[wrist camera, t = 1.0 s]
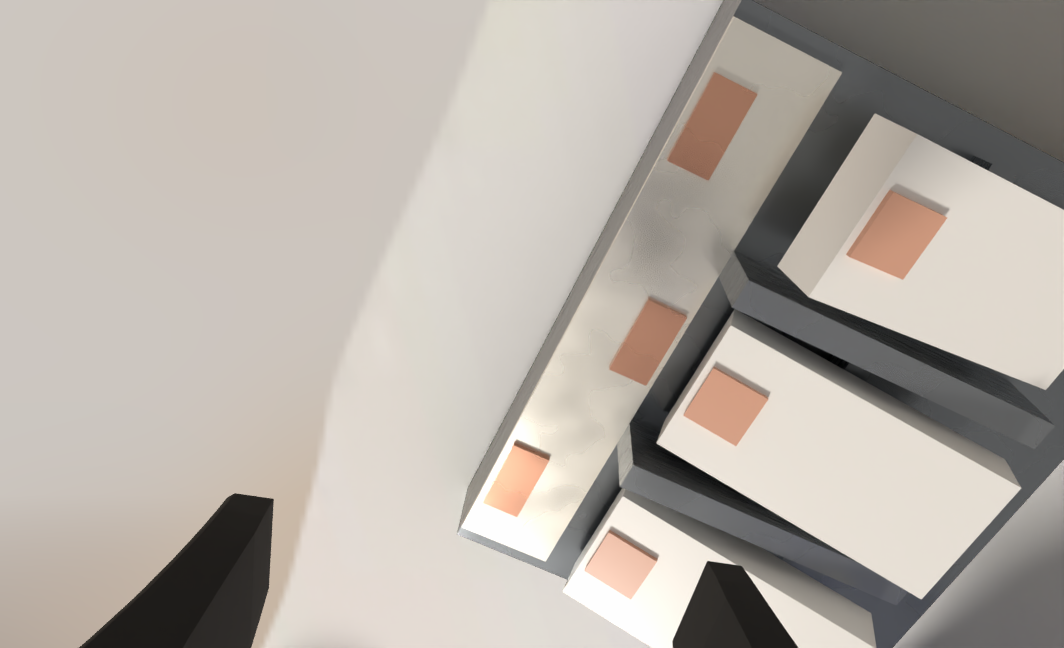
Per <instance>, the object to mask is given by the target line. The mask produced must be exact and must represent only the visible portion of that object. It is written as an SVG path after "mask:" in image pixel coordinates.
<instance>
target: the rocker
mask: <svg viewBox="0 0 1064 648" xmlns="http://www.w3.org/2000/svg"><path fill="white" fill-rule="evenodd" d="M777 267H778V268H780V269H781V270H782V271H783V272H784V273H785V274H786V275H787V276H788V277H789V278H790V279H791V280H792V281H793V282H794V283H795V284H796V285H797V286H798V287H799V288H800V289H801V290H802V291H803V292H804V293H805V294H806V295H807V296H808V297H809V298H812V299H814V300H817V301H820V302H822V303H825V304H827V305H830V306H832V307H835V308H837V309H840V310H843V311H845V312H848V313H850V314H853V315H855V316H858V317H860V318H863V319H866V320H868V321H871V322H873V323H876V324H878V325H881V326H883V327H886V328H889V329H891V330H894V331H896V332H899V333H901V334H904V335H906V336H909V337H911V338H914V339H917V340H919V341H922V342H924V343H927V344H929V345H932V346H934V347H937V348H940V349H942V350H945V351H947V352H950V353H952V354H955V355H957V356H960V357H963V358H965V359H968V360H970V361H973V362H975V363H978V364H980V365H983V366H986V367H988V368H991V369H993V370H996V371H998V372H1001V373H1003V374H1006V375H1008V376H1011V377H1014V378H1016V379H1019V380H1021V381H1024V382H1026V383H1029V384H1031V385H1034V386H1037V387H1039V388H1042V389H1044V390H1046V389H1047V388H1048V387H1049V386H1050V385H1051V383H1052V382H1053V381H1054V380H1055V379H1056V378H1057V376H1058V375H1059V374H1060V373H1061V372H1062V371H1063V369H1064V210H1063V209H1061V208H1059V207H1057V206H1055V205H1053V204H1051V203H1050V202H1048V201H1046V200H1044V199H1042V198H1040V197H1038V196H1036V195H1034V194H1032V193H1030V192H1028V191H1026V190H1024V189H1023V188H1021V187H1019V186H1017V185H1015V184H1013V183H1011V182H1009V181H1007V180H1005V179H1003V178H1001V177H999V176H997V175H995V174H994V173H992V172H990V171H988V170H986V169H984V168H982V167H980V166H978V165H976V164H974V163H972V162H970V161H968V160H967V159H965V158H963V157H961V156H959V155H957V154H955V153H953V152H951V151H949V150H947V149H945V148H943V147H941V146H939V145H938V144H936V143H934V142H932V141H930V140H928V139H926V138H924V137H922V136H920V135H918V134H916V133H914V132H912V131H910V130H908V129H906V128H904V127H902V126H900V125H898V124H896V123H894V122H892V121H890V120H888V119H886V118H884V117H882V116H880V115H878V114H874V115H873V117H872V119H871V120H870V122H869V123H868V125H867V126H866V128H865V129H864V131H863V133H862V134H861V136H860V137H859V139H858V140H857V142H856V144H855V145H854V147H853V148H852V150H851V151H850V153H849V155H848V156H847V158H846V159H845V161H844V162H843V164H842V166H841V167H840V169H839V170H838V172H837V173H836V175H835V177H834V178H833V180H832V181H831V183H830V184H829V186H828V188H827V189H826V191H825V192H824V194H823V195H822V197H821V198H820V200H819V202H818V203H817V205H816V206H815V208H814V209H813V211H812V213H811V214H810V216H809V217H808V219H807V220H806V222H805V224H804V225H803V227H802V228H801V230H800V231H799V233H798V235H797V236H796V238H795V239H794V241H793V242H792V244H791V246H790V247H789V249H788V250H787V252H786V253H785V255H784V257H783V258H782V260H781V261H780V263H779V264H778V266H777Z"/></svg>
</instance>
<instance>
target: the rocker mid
mask: <svg viewBox="0 0 1064 648" xmlns="http://www.w3.org/2000/svg"><path fill="white" fill-rule="evenodd" d="M656 443H657V444H658V445H660V446H662V447H663V448H665V449H667V450H668V451H670V452H672V453H673V454H675V455H677V456H679V457H680V458H682V459H684V460H685V461H687V462H689V463H690V464H692V465H694V466H696V467H697V468H699V469H701V470H702V471H704V472H706V473H707V474H709V475H711V476H713V477H714V478H716V479H718V480H719V481H721V482H723V483H724V484H726V485H728V486H729V487H731V488H733V489H735V490H736V491H738V492H740V493H741V494H743V495H745V496H746V497H748V498H750V499H752V500H753V501H755V502H757V503H758V504H760V505H762V506H763V507H765V508H767V509H769V510H770V511H772V512H774V513H775V514H777V515H779V516H780V517H782V518H784V519H785V520H787V521H789V522H791V523H792V524H794V525H796V526H797V527H799V528H801V529H802V530H804V531H806V532H808V533H809V534H811V535H813V536H814V537H816V538H818V539H819V540H821V541H823V542H825V543H826V544H828V545H830V546H831V547H833V548H835V549H836V550H838V551H840V552H841V553H843V554H845V555H847V556H848V557H850V558H852V559H853V560H855V561H857V562H858V563H860V564H862V565H864V566H865V567H867V568H869V569H870V570H872V571H874V572H875V573H877V574H879V575H881V576H882V577H884V578H886V579H887V580H889V581H891V582H892V583H894V584H896V585H897V586H899V587H901V588H903V589H904V590H906V591H908V592H909V593H911V594H913V595H914V596H916V597H918V598H920V599H922V598H923V597H924V596H925V595H926V594H927V593H928V592H929V591H930V589H931V588H932V587H933V586H934V585H935V584H936V583H937V582H938V581H939V579H940V578H941V577H942V576H943V575H944V574H945V573H946V572H947V571H948V569H949V568H950V567H951V566H952V565H953V564H954V563H955V562H956V561H957V559H958V558H959V557H960V556H961V555H962V554H963V553H964V552H965V550H966V549H967V548H968V547H969V546H970V545H971V544H972V543H973V542H974V540H975V539H976V538H977V537H978V536H979V535H980V534H981V533H982V532H983V530H984V529H985V528H986V527H987V526H988V525H989V524H990V523H991V522H992V520H993V519H994V518H995V517H996V516H997V515H998V514H999V513H1000V512H1001V510H1002V509H1003V508H1004V507H1005V506H1006V505H1007V504H1008V503H1009V501H1010V500H1011V499H1012V498H1013V497H1014V496H1015V495H1016V494H1017V493H1018V491H1019V490H1020V489H1021V486H1020V485H1019V483H1018V481H1017V479H1016V478H1015V476H1014V474H1013V472H1012V471H1011V469H1010V467H1009V465H1008V464H1007V462H1006V460H1005V459H1004V458H1002V457H1000V456H998V455H996V454H995V453H993V452H991V451H989V450H987V449H986V448H984V447H982V446H980V445H978V444H977V443H975V442H973V441H971V440H969V439H968V438H966V437H964V436H962V435H960V434H959V433H957V432H955V431H953V430H951V429H950V428H948V427H946V426H944V425H942V424H941V423H939V422H937V421H935V420H934V419H932V418H930V417H928V416H926V415H925V414H923V413H921V412H919V411H917V410H916V409H914V408H912V407H910V406H908V405H907V404H905V403H903V402H901V401H899V400H898V399H896V398H894V397H892V396H890V395H889V394H887V393H885V392H883V391H881V390H880V389H878V388H876V387H874V386H872V385H871V384H869V383H867V382H865V381H863V380H862V379H860V378H858V377H856V376H855V375H853V374H851V373H849V372H847V371H846V370H844V369H842V368H840V367H838V366H837V365H835V364H833V363H831V362H829V361H828V360H826V359H824V358H822V357H820V356H819V355H817V354H815V353H813V352H811V351H810V350H808V349H806V348H804V347H802V346H801V345H799V344H797V343H795V342H793V341H792V340H790V339H788V338H786V337H784V336H783V335H781V334H779V333H777V332H776V331H774V330H772V329H770V328H768V327H767V326H765V325H763V324H761V323H759V322H758V321H756V320H754V319H752V318H750V317H749V316H747V315H745V314H743V313H741V312H740V311H738V310H736V309H734V311H733V312H732V314H731V315H730V317H729V319H728V320H727V322H726V323H725V325H724V327H723V328H722V330H721V331H720V333H719V335H718V336H717V338H716V339H715V341H714V343H713V344H712V346H711V347H710V349H709V350H708V352H707V354H706V355H705V357H704V358H703V360H702V362H701V363H700V365H699V366H698V368H697V370H696V371H695V373H694V374H693V376H692V378H691V379H690V381H689V382H688V384H687V385H686V387H685V389H684V390H683V392H682V393H681V395H680V397H679V398H678V400H677V401H676V403H675V405H674V406H673V408H672V409H671V411H670V413H669V414H668V416H667V417H666V419H665V421H664V423H663V426H662V429H661V431H660V434H659V437H658V440H657V442H656Z"/></svg>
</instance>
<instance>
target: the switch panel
mask: <svg viewBox="0 0 1064 648" xmlns="http://www.w3.org/2000/svg"><path fill="white" fill-rule="evenodd" d="M874 114H878V115H880V116H882V117H884V118H886V119H888V120H890V121H892V122H894V123H896V124H898V125H900V126H902V127H904V128H906V129H908V130H910V131H912V132H914V133H916V134H918V135H920V136H922V137H924V138H926V139H928V140H930V141H932V142H934V143H936V144H938V145H939V146H941V147H943V148H945V149H947V150H949V151H951V152H953V153H955V154H957V155H959V156H961V157H963V158H965V159H967V160H968V161H970V162H972V163H974V164H976V165H978V166H980V167H982V168H984V169H986V170H988V171H990V172H992V173H994V174H995V175H997V176H999V177H1001V178H1003V179H1005V180H1007V181H1009V182H1011V183H1013V184H1015V185H1017V186H1019V187H1021V188H1023V189H1024V190H1026V191H1028V192H1030V193H1032V194H1034V195H1036V196H1038V197H1040V198H1042V199H1044V200H1046V201H1048V202H1050V203H1051V204H1053V205H1055V206H1057V207H1059V208H1061V209H1063V210H1064V163H1063V162H1062V161H1060V160H1058V159H1056V158H1054V157H1052V156H1050V155H1048V154H1046V153H1044V152H1042V151H1040V150H1039V149H1037V148H1035V147H1033V146H1031V145H1029V144H1027V143H1025V142H1023V141H1021V140H1019V139H1017V138H1016V137H1014V136H1012V135H1010V134H1008V133H1006V132H1004V131H1002V130H1000V129H998V128H996V127H994V126H992V125H991V124H989V123H987V122H985V121H983V120H981V119H979V118H977V117H975V116H973V115H971V114H969V113H968V112H966V111H964V110H962V109H960V108H958V107H956V106H954V105H952V104H950V103H948V102H946V101H945V100H943V99H941V98H939V97H937V96H935V95H933V94H931V93H929V92H927V91H925V90H923V89H921V88H920V87H918V86H916V85H914V84H912V83H910V82H908V81H906V80H904V79H902V78H900V77H898V76H897V75H895V74H893V73H891V72H889V71H887V70H885V69H883V68H881V67H879V66H877V65H875V64H874V63H872V62H870V61H868V60H866V59H864V58H862V57H860V56H858V55H856V54H854V53H852V52H850V51H849V50H847V49H845V48H843V47H841V46H839V45H837V44H835V43H833V42H831V41H829V40H827V39H826V38H824V37H822V36H820V35H818V34H816V33H814V32H812V31H810V30H808V29H806V28H804V27H803V26H801V25H799V24H797V23H795V22H793V21H791V20H789V19H787V18H785V17H783V16H781V15H779V14H778V13H776V12H774V11H772V10H770V9H768V8H766V7H764V6H762V5H760V4H758V3H756V2H755V1H753V0H724V1H723V3H722V5H721V6H720V8H719V10H718V12H717V14H716V16H715V18H714V20H713V22H712V24H711V26H710V27H709V29H708V31H707V33H706V35H705V37H704V39H703V41H702V43H701V45H700V47H699V48H698V50H697V52H696V54H695V56H694V58H693V60H692V62H691V64H690V66H689V68H688V69H687V71H686V73H685V75H684V77H683V79H682V81H681V83H680V85H679V87H678V88H677V90H676V92H675V94H674V96H673V98H672V100H671V102H670V104H669V106H668V108H667V109H666V111H665V113H664V115H663V117H662V119H661V121H660V123H659V125H658V127H657V129H656V130H655V132H654V134H653V136H652V138H651V140H650V142H649V144H648V146H647V148H646V150H645V151H644V153H643V155H642V157H641V159H640V161H639V163H638V165H637V167H636V169H635V170H634V172H633V174H632V176H631V178H630V180H629V182H628V184H627V186H626V188H625V190H624V191H623V193H622V195H621V197H620V199H619V201H618V203H617V205H616V207H615V209H614V211H613V212H612V214H611V216H610V218H609V220H608V222H607V224H606V226H605V228H604V230H603V232H602V233H601V235H600V237H599V239H598V241H597V243H596V245H595V247H594V249H593V251H592V252H591V254H590V256H589V258H588V260H587V262H586V264H585V266H584V268H583V270H582V272H581V273H580V275H579V277H578V279H577V281H576V283H575V285H574V287H573V289H572V291H571V293H570V294H569V296H568V298H567V300H566V302H565V304H564V306H563V308H562V310H561V312H560V314H559V315H558V317H557V319H556V321H555V323H554V325H553V327H552V329H551V331H550V333H549V334H548V336H547V338H546V340H545V342H544V344H543V346H542V348H541V350H540V352H539V354H538V355H537V357H536V359H535V361H534V363H533V365H532V367H531V369H530V371H529V373H528V375H527V376H526V378H525V380H524V382H523V384H522V386H521V388H520V390H519V392H518V394H517V396H516V397H515V399H514V401H513V403H512V405H511V407H510V409H509V411H508V413H507V415H506V417H505V418H504V420H503V422H502V424H501V426H500V428H499V430H498V432H497V434H496V436H495V437H494V439H493V441H492V443H491V445H490V447H489V449H488V451H487V453H486V455H485V457H484V458H483V460H482V462H481V464H480V466H479V468H478V470H477V472H476V474H475V476H474V478H473V479H472V481H471V483H470V485H469V487H468V489H467V493H466V497H465V502H464V506H463V510H462V514H461V519H460V523H459V527H458V531H457V534H458V535H460V536H462V537H465V538H467V539H470V540H472V541H475V542H477V543H480V544H482V545H484V546H487V547H489V548H492V549H494V550H497V551H499V552H501V553H504V554H506V555H509V556H511V557H514V558H516V559H518V560H521V561H523V562H526V563H528V564H531V565H533V566H535V567H538V568H540V569H543V570H545V571H548V572H550V573H552V574H555V575H557V576H560V577H562V578H565V579H567V580H568V578H569V576H570V573H571V571H572V569H573V567H574V564H575V562H576V561H577V559H578V557H579V556H580V554H581V553H582V551H583V549H584V548H585V546H586V545H587V543H588V541H589V540H590V538H591V537H592V535H593V533H594V532H595V530H596V529H597V527H598V526H599V524H600V522H601V521H602V519H603V518H604V516H605V514H606V513H607V511H608V510H609V508H610V506H611V505H612V503H613V502H614V500H615V498H616V497H617V495H618V494H619V492H620V491H621V489H622V488H624V489H626V490H629V491H631V492H633V493H636V494H638V495H640V496H643V497H645V498H647V499H650V500H652V501H654V502H657V503H659V504H661V505H664V506H666V507H668V508H671V509H673V510H675V511H678V512H680V513H682V514H685V515H687V516H689V517H692V518H694V519H696V520H699V521H701V522H703V523H706V524H708V525H710V526H713V527H715V528H717V529H719V530H722V531H724V532H726V533H729V534H731V535H733V536H736V537H738V538H740V539H743V540H745V541H747V542H750V543H752V544H754V545H757V546H759V547H761V548H763V549H764V550H766V551H768V552H770V553H771V554H773V555H775V556H776V557H778V558H780V559H781V560H783V561H785V562H786V563H788V564H790V565H791V566H793V567H795V568H796V569H798V570H800V571H801V572H803V573H805V574H806V575H808V576H810V577H811V578H813V579H815V580H816V581H818V582H820V583H821V584H823V585H825V586H826V587H828V588H830V589H832V590H833V591H835V592H837V593H838V594H840V595H842V596H843V597H845V598H847V599H848V600H850V601H852V602H853V603H855V604H857V605H858V606H860V607H862V608H863V609H865V610H867V611H868V612H870V613H871V615H872V621H873V628H874V634H875V641H876V647H877V648H893V647H894V646H895V644H896V643H897V642H898V641H899V640H900V639H901V638H902V637H903V636H904V635H905V633H906V632H907V631H908V630H909V629H910V628H911V627H912V626H913V625H914V624H915V622H916V621H917V620H918V619H919V618H920V617H921V616H922V615H923V614H924V613H925V611H926V610H927V609H928V608H929V607H930V606H931V605H932V604H933V603H934V602H935V600H936V599H937V598H938V597H939V596H940V595H941V594H942V593H943V592H944V591H945V589H946V588H947V587H948V586H949V585H950V584H951V583H952V582H953V581H954V580H955V578H956V577H957V576H958V575H959V574H960V573H961V572H962V571H963V570H964V568H965V567H966V566H967V565H968V564H969V563H970V562H971V561H972V560H973V559H974V557H975V556H976V555H977V554H978V553H979V552H980V551H981V550H982V549H983V548H984V546H985V545H986V544H987V543H988V542H989V541H990V540H991V539H992V538H993V537H994V535H995V534H996V533H997V532H998V531H999V530H1000V529H1001V528H1002V527H1003V526H1004V524H1005V523H1006V522H1007V521H1008V520H1009V519H1010V518H1011V517H1012V516H1013V515H1014V513H1015V512H1016V511H1017V510H1018V509H1019V508H1020V507H1021V506H1022V505H1023V504H1024V502H1025V501H1026V500H1027V499H1028V498H1029V497H1030V496H1031V495H1032V494H1033V493H1034V491H1035V490H1036V489H1037V488H1038V487H1039V486H1040V485H1041V484H1042V483H1043V482H1044V480H1045V479H1046V478H1047V477H1048V476H1049V475H1050V474H1051V473H1052V472H1053V471H1054V469H1055V468H1056V467H1057V466H1058V465H1059V464H1060V463H1061V462H1062V461H1063V460H1064V369H1063V371H1062V372H1061V373H1060V374H1059V375H1058V376H1057V378H1056V379H1055V380H1054V381H1053V382H1052V383H1051V385H1050V386H1049V387H1048V388H1047V389H1046V390H1044V389H1042V388H1039V387H1037V386H1034V385H1031V384H1029V383H1026V382H1024V381H1021V380H1019V379H1016V378H1014V377H1011V376H1008V375H1006V374H1003V373H1001V372H998V371H996V370H993V369H991V368H988V367H986V366H983V365H980V364H978V363H975V362H973V361H970V360H968V359H965V358H963V357H960V356H957V355H955V354H952V353H950V352H947V351H945V350H942V349H940V348H937V347H934V346H932V345H929V344H927V343H924V342H922V341H919V340H917V339H914V338H911V337H909V336H906V335H904V334H901V333H899V332H896V331H894V330H891V329H889V328H886V327H883V326H881V325H878V324H876V323H873V322H871V321H868V320H866V319H863V318H860V317H858V316H855V315H853V314H850V313H848V312H845V311H843V310H840V309H837V308H835V307H832V306H830V305H827V304H825V303H822V302H820V301H817V300H814V299H812V298H809V297H808V296H807V295H806V294H805V293H804V292H803V291H802V290H801V289H800V288H799V287H798V286H797V285H796V284H795V283H794V282H793V281H792V280H791V279H790V278H789V277H788V276H787V275H786V274H785V273H784V272H783V271H782V270H781V269H780V268H778V267H777V266H778V264H779V263H780V261H781V260H782V258H783V257H784V255H785V253H786V252H787V250H788V249H789V247H790V246H791V244H792V242H793V241H794V239H795V238H796V236H797V235H798V233H799V231H800V230H801V228H802V227H803V225H804V224H805V222H806V220H807V219H808V217H809V216H810V214H811V213H812V211H813V209H814V208H815V206H816V205H817V203H818V202H819V200H820V198H821V197H822V195H823V194H824V192H825V191H826V189H827V188H828V186H829V184H830V183H831V181H832V180H833V178H834V177H835V175H836V173H837V172H838V170H839V169H840V167H841V166H842V164H843V162H844V161H845V159H846V158H847V156H848V155H849V153H850V151H851V150H852V148H853V147H854V145H855V144H856V142H857V140H858V139H859V137H860V136H861V134H862V133H863V131H864V129H865V128H866V126H867V125H868V123H869V122H870V120H871V119H872V117H873V115H874ZM734 309H736V310H738V311H740V312H741V313H743V314H745V315H747V316H749V317H750V318H752V319H754V320H756V321H758V322H759V323H761V324H763V325H765V326H767V327H768V328H770V329H772V330H774V331H776V332H777V333H779V334H781V335H783V336H784V337H786V338H788V339H790V340H792V341H793V342H795V343H797V344H799V345H801V346H802V347H804V348H806V349H808V350H810V351H811V352H813V353H815V354H817V355H819V356H820V357H822V358H824V359H826V360H828V361H829V362H831V363H833V364H835V365H837V366H838V367H840V368H842V369H844V370H846V371H847V372H849V373H851V374H853V375H855V376H856V377H858V378H860V379H862V380H863V381H865V382H867V383H869V384H871V385H872V386H874V387H876V388H878V389H880V390H881V391H883V392H885V393H887V394H889V395H890V396H892V397H894V398H896V399H898V400H899V401H901V402H903V403H905V404H907V405H908V406H910V407H912V408H914V409H916V410H917V411H919V412H921V413H923V414H925V415H926V416H928V417H930V418H932V419H934V420H935V421H937V422H939V423H941V424H942V425H944V426H946V427H948V428H950V429H951V430H953V431H955V432H957V433H959V434H960V435H962V436H964V437H966V438H968V439H969V440H971V441H973V442H975V443H977V444H978V445H980V446H982V447H984V448H986V449H987V450H989V451H991V452H993V453H995V454H996V455H998V456H1000V457H1002V458H1004V459H1005V460H1006V462H1007V464H1008V465H1009V467H1010V469H1011V471H1012V472H1013V474H1014V476H1015V478H1016V479H1017V481H1018V483H1019V485H1020V486H1021V489H1020V490H1019V491H1018V493H1017V494H1016V495H1015V496H1014V497H1013V498H1012V499H1011V500H1010V501H1009V503H1008V504H1007V505H1006V506H1005V507H1004V508H1003V509H1002V510H1001V512H1000V513H999V514H998V515H997V516H996V517H995V518H994V519H993V520H992V522H991V523H990V524H989V525H988V526H987V527H986V528H985V529H984V530H983V532H982V533H981V534H980V535H979V536H978V537H977V538H976V539H975V540H974V542H973V543H972V544H971V545H970V546H969V547H968V548H967V549H966V550H965V552H964V553H963V554H962V555H961V556H960V557H959V558H958V559H957V561H956V562H955V563H954V564H953V565H952V566H951V567H950V568H949V569H948V571H947V572H946V573H945V574H944V575H943V576H942V577H941V578H940V579H939V581H938V582H937V583H936V584H935V585H934V586H933V587H932V588H931V589H930V591H929V592H928V593H927V594H926V595H925V596H924V597H923V598H922V599H920V598H918V597H916V596H914V595H913V594H911V593H909V592H908V591H906V590H904V589H903V588H901V587H899V586H897V585H896V584H894V583H892V582H891V581H889V580H887V579H886V578H884V577H882V576H881V575H879V574H877V573H875V572H874V571H872V570H870V569H869V568H867V567H865V566H864V565H862V564H860V563H858V562H857V561H855V560H853V559H852V558H850V557H848V556H847V555H845V554H843V553H841V552H840V551H838V550H836V549H835V548H833V547H831V546H830V545H828V544H826V543H825V542H823V541H821V540H819V539H818V538H816V537H814V536H813V535H811V534H809V533H808V532H806V531H804V530H802V529H801V528H799V527H797V526H796V525H794V524H792V523H791V522H789V521H787V520H785V519H784V518H782V517H780V516H779V515H777V514H775V513H774V512H772V511H770V510H769V509H767V508H765V507H763V506H762V505H760V504H758V503H757V502H755V501H753V500H752V499H750V498H748V497H746V496H745V495H743V494H741V493H740V492H738V491H736V490H735V489H733V488H731V487H729V486H728V485H726V484H724V483H723V482H721V481H719V480H718V479H716V478H714V477H713V476H711V475H709V474H707V473H706V472H704V471H702V470H701V469H699V468H697V467H696V466H694V465H692V464H690V463H689V462H687V461H685V460H684V459H682V458H680V457H679V456H677V455H675V454H673V453H672V452H670V451H668V450H667V449H665V448H663V447H662V446H660V445H658V444H657V443H656V442H657V440H658V437H659V434H660V431H661V429H662V426H663V423H664V421H665V419H666V417H667V416H668V414H669V413H670V411H671V409H672V408H673V406H674V405H675V403H676V401H677V400H678V398H679V397H680V395H681V393H682V392H683V390H684V389H685V387H686V385H687V384H688V382H689V381H690V379H691V378H692V376H693V374H694V373H695V371H696V370H697V368H698V366H699V365H700V363H701V362H702V360H703V358H704V357H705V355H706V354H707V352H708V350H709V349H710V347H711V346H712V344H713V343H714V341H715V339H716V338H717V336H718V335H719V333H720V331H721V330H722V328H723V327H724V325H725V323H726V322H727V320H728V319H729V317H730V315H731V314H732V312H733V311H734Z"/></svg>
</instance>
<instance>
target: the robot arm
mask: <svg viewBox="0 0 1064 648" xmlns="http://www.w3.org/2000/svg"><path fill="white" fill-rule="evenodd" d="M273 501H274V500H273V499H270V498H262V497H256V496H249V495H242V494H233V495H231V496H229V497H228V498H227V499H226V500H225V501H224V502H223V504H222V505H221V506H220V508H218V510H217V511H216V512H215V513H214V514H213V516H212V517H211V518H210V519H209V520H208V521H207V523H206V524H205V525H204V526H203V527H202V528H201V529H200V530H199V532H198V533H197V534H196V535H195V536H194V537H193V538H192V539H191V540H190V542H189V543H188V544H187V545H186V546H185V547H184V548H183V549H182V550H181V551H180V552H179V553H178V554H177V555H176V557H175V558H174V559H173V560H172V561H171V562H170V563H169V564H168V565H167V566H166V567H165V568H164V569H163V570H162V571H161V572H160V573H159V574H158V575H157V576H156V577H155V578H154V579H153V580H152V581H151V582H150V583H149V584H148V585H147V586H146V587H145V588H144V589H143V590H142V591H141V592H140V593H139V594H138V595H137V596H136V597H135V598H134V599H132V601H130V602H129V603H128V604H127V605H126V606H125V607H124V608H123V609H122V610H121V611H119V612H118V613H117V614H116V615H115V616H114V617H113V618H112V619H111V620H110V621H108V622H107V623H106V624H105V625H104V626H103V627H102V628H101V629H100V630H99V631H97V632H96V633H95V634H94V635H93V636H92V637H91V638H90V639H89V640H88V641H86V642H85V643H84V644H83V645H82V646H80V647H79V648H251V646H252V643H253V639H254V636H255V633H256V629H257V626H258V623H259V620H260V616H261V613H262V609H263V606H264V603H265V599H266V596H267V592H268V589H269V574H270V556H271V537H272V518H273ZM672 643H673V648H798V646H797V645H796V643H795V642H794V641H793V639H792V638H791V636H790V635H789V634H788V632H787V631H786V629H785V628H784V626H783V625H782V623H781V622H780V621H779V619H778V618H777V616H776V615H775V613H774V612H773V610H772V609H771V607H770V606H769V605H768V603H767V602H766V600H765V599H764V597H763V596H762V594H761V593H760V591H759V590H758V588H757V587H756V585H755V584H754V583H753V581H752V580H751V578H750V577H749V575H748V574H747V573H746V571H745V570H744V568H743V567H742V566H740V565H733V564H726V563H719V562H712V561H707V563H706V565H705V567H704V569H703V572H702V574H701V576H700V579H699V581H698V583H697V586H696V588H695V590H694V592H693V595H692V597H691V599H690V602H689V604H688V606H687V608H686V611H685V613H684V615H683V618H682V620H681V622H680V625H679V627H678V629H677V631H676V634H675V636H674V638H673V641H672Z"/></svg>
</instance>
